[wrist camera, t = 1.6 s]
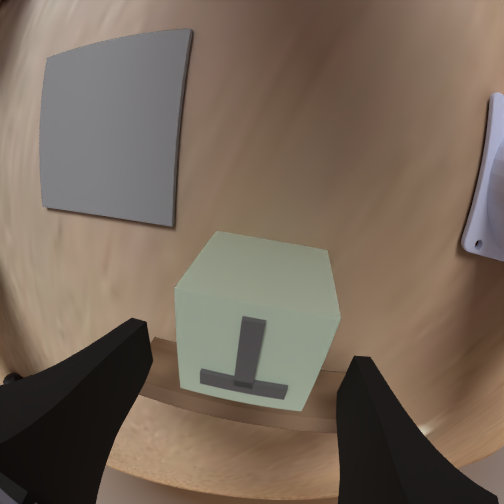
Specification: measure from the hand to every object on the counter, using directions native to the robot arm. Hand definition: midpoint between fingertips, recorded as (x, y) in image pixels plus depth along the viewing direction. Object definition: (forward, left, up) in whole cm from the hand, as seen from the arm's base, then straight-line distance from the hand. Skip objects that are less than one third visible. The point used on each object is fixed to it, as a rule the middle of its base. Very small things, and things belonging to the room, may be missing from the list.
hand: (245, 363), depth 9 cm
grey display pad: (+9, -7, -5) cm, 12 cm away
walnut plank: (0, +6, -5) cm, 8 cm away
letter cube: (0, 0, -5) cm, 5 cm away
